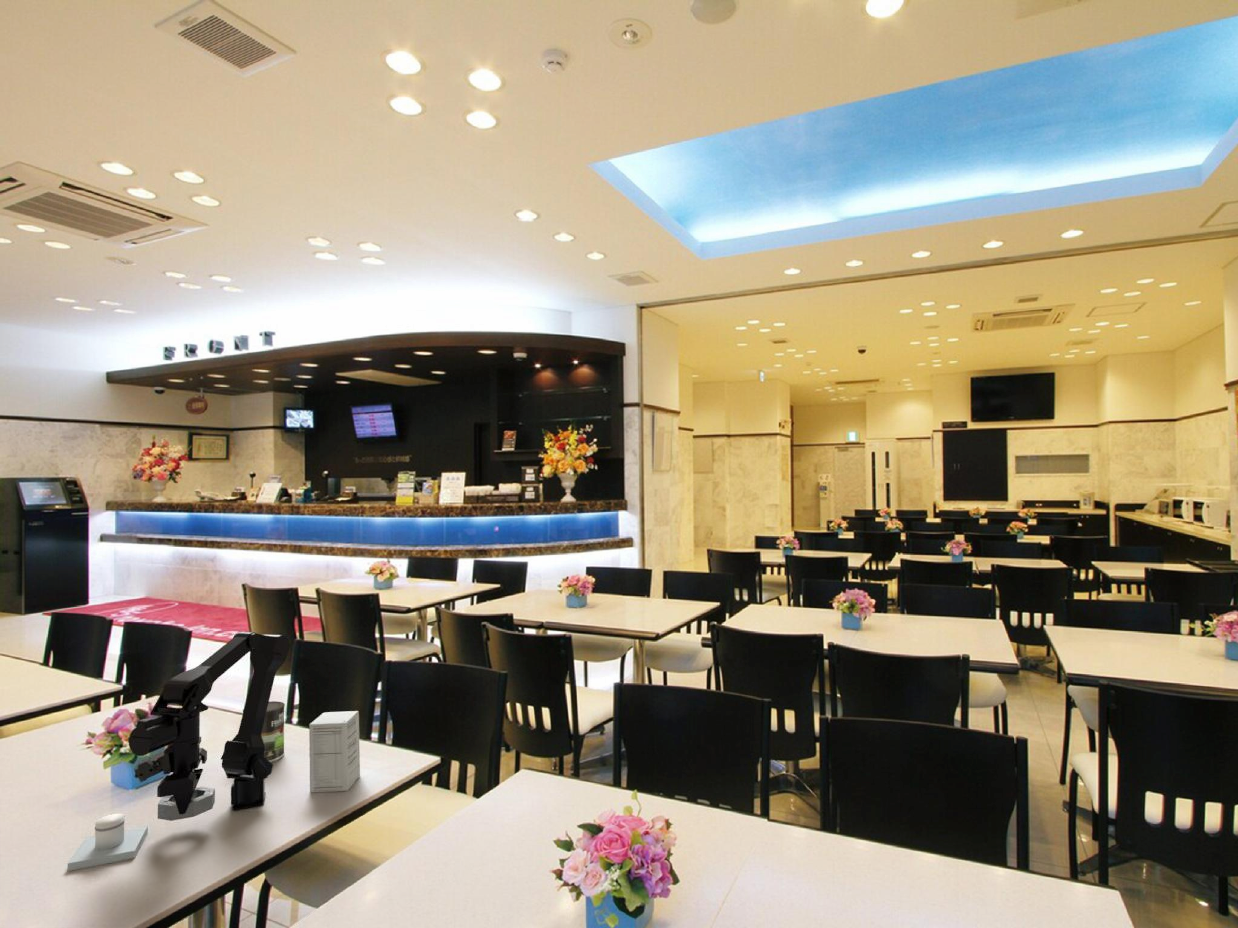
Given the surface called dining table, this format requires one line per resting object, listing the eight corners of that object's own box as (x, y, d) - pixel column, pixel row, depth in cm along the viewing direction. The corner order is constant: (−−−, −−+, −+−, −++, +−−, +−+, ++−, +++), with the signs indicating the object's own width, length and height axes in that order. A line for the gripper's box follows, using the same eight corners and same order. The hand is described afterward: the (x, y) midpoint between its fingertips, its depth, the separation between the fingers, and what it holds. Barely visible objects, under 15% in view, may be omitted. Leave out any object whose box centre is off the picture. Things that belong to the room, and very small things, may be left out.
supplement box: (361, 775, 175) (360, 710, 176) (347, 791, 166) (347, 722, 167) (323, 776, 175) (323, 711, 175) (308, 792, 166) (308, 723, 166)
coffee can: (291, 750, 193) (291, 700, 194) (272, 765, 183) (272, 712, 183) (255, 750, 193) (255, 700, 194) (234, 765, 183) (234, 713, 183)
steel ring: (216, 797, 154) (216, 783, 154) (209, 813, 145) (210, 799, 145) (164, 806, 150) (164, 792, 150) (154, 823, 141) (154, 808, 141)
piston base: (147, 832, 147) (147, 802, 148) (134, 857, 137) (134, 825, 138) (85, 844, 143) (85, 813, 143) (67, 870, 133) (67, 837, 133)
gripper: (149, 729, 150) (148, 800, 149) (126, 760, 132) (126, 840, 132) (207, 721, 154) (207, 790, 154) (193, 750, 137) (192, 828, 136)
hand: (183, 811), depth 144 cm, fingers closed on steel ring, 2 cm apart
